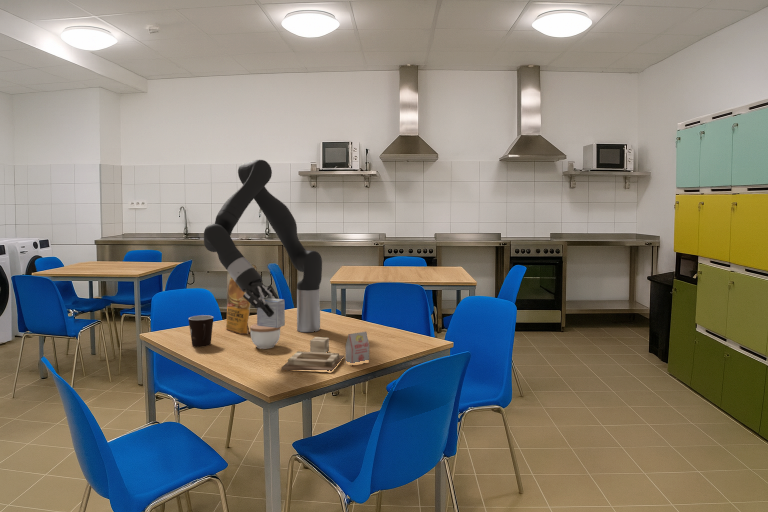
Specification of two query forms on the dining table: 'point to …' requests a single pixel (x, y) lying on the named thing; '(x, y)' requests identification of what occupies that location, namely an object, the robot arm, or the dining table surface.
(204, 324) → the coffee mug
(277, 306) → the medicine box
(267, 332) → the lidded jar
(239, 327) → the pancake mix bag
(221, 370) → the dining table surface
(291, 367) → the socket plate
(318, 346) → the maple block
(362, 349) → the white paper bag
